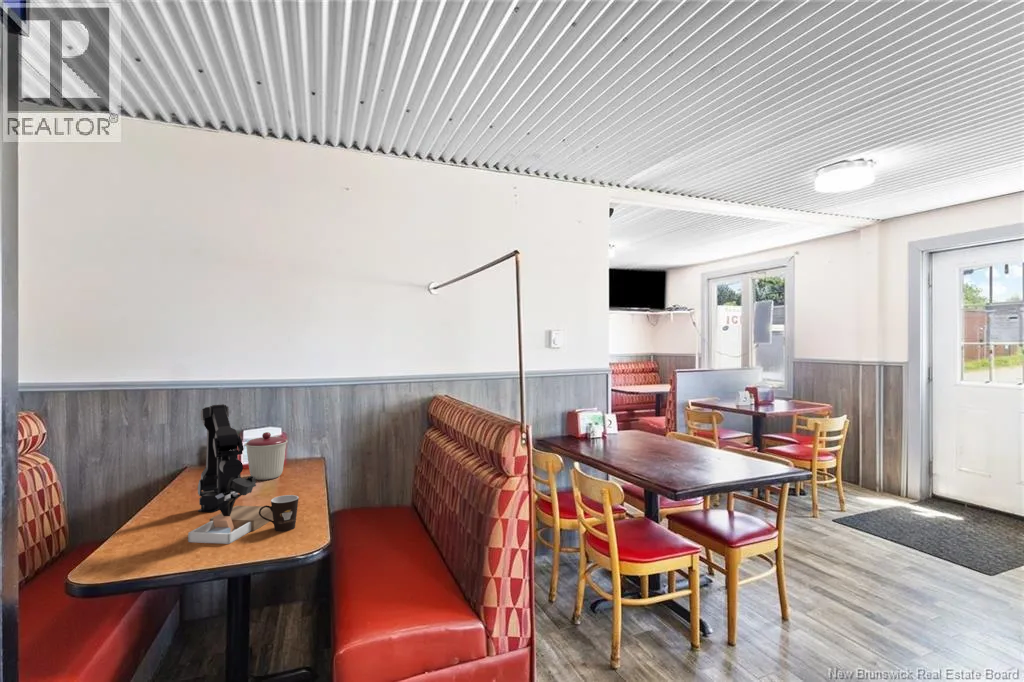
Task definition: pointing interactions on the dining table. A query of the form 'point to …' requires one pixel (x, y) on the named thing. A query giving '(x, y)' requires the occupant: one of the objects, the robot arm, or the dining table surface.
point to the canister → (266, 456)
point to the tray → (217, 534)
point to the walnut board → (248, 516)
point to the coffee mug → (283, 512)
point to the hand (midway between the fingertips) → (227, 518)
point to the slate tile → (220, 530)
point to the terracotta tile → (223, 522)
